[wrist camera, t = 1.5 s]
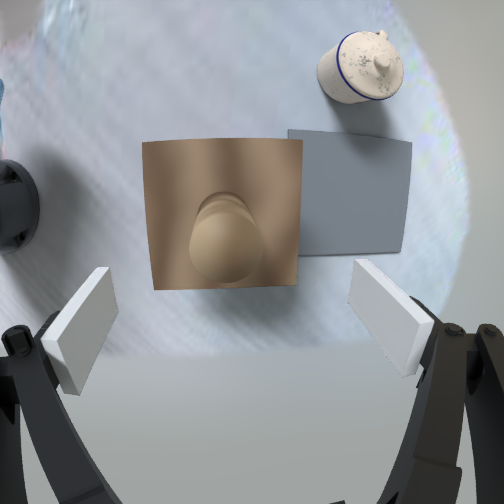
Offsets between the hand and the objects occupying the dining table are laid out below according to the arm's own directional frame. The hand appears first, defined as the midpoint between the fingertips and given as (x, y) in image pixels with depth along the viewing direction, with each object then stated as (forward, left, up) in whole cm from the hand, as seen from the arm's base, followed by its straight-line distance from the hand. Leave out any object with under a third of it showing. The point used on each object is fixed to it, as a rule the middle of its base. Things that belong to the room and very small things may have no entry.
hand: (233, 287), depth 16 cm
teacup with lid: (+18, +19, -28) cm, 38 cm away
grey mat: (+19, 0, -27) cm, 33 cm away
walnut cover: (0, 0, -16) cm, 16 cm away
